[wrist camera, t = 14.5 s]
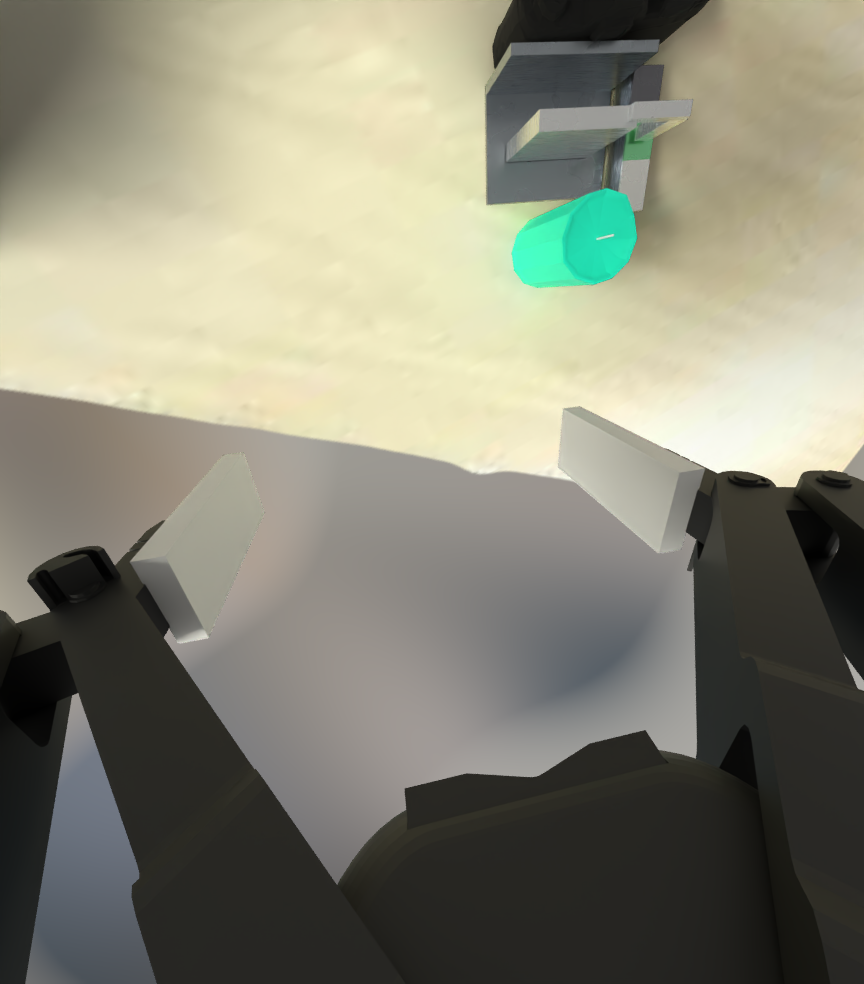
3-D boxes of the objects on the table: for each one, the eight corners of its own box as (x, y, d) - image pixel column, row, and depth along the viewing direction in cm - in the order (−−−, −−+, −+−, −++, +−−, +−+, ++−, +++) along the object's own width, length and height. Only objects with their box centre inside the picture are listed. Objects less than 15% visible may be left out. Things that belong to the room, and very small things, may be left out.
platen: (506, 162, 33) (542, 129, 26) (506, 144, 32) (543, 105, 26) (629, 155, 34) (692, 121, 27) (632, 137, 33) (696, 99, 27)
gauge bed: (486, 226, 35) (509, 213, 30) (485, 86, 30) (511, 42, 25) (624, 215, 36) (669, 201, 31) (642, 81, 32) (697, 38, 27)
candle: (564, 287, 39) (640, 283, 28) (509, 288, 38) (566, 284, 27) (574, 216, 36) (662, 182, 25) (514, 215, 35) (580, 179, 24)
